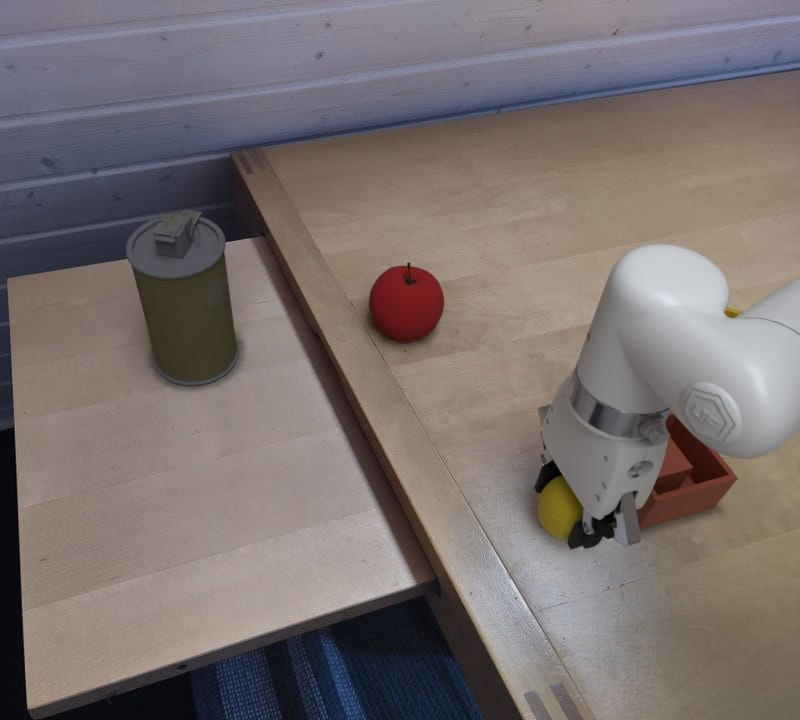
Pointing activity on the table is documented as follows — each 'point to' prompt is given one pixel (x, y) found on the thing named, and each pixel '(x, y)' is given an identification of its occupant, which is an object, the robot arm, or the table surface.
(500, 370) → the table surface
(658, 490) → the clay block
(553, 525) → the lemon
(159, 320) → the canister
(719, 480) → the clay bin
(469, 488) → the table surface
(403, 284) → the apple
